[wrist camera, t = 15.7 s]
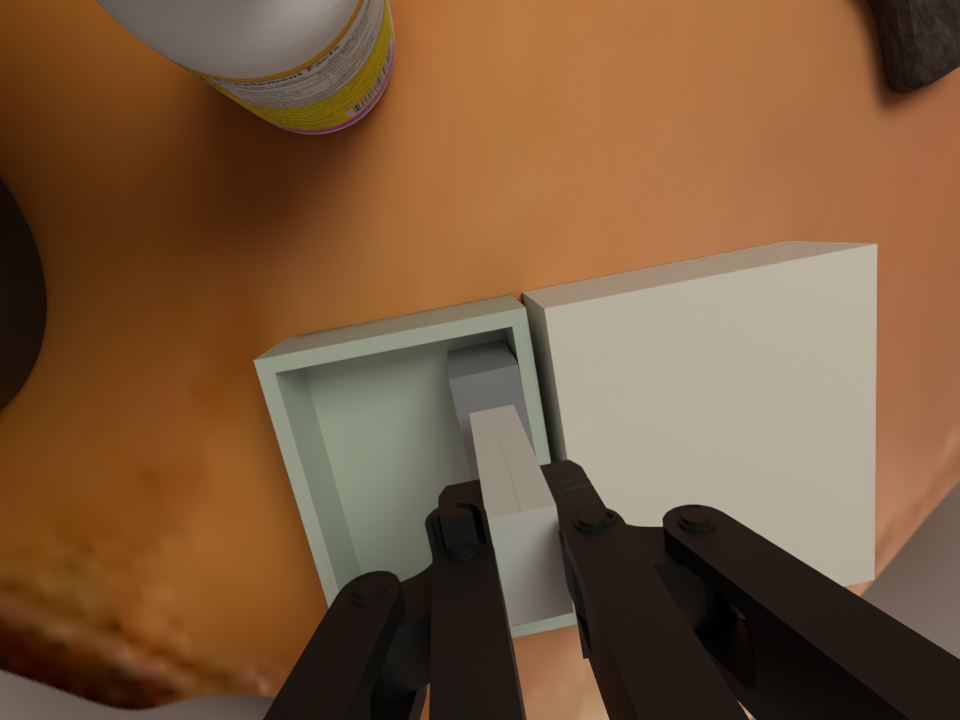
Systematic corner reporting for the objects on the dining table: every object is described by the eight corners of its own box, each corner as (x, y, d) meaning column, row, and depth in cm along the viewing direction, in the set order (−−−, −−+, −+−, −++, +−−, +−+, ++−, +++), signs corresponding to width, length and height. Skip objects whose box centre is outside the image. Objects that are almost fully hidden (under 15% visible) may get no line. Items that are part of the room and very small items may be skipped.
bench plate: (566, 564, 26) (595, 639, 22) (522, 292, 23) (544, 308, 18) (795, 516, 27) (874, 579, 22) (786, 241, 23) (877, 243, 18)
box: (362, 607, 26) (348, 673, 22) (285, 338, 23) (253, 360, 19) (557, 566, 26) (577, 624, 23) (511, 294, 23) (525, 307, 19)
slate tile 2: (522, 433, 24) (468, 445, 24) (503, 338, 23) (447, 351, 23) (540, 478, 20) (475, 493, 19) (518, 364, 18) (448, 379, 18)
